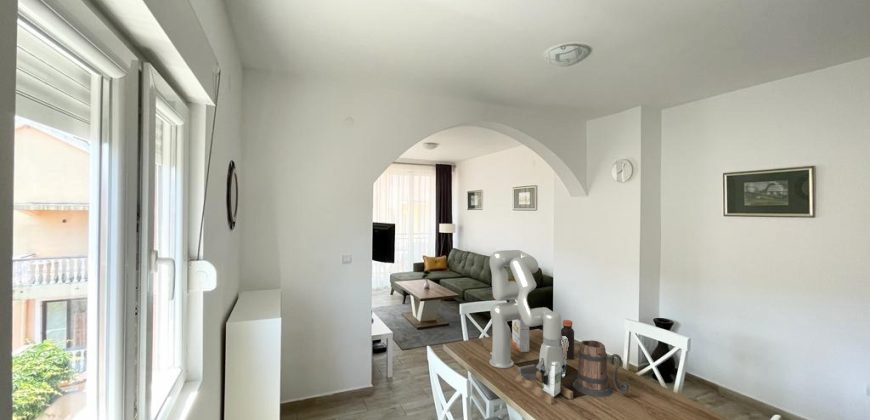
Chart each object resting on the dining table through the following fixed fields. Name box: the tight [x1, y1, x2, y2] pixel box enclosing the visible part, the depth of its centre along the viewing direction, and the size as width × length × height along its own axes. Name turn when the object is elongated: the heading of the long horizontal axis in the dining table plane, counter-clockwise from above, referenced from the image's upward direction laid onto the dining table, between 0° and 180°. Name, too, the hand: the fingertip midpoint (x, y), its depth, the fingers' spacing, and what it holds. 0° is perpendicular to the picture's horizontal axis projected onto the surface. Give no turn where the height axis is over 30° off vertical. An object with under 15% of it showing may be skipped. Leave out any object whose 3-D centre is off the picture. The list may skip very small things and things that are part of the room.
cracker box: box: [511, 318, 530, 353], centre depth 213 cm, size 14×6×21 cm, turn 6°
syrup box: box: [541, 362, 562, 398], centre depth 158 cm, size 6×6×14 cm
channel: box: [515, 363, 574, 406], centre depth 163 cm, size 24×12×6 cm, turn 24°
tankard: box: [572, 339, 630, 398], centre depth 163 cm, size 24×17×20 cm
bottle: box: [561, 319, 575, 361], centre depth 199 cm, size 7×7×20 cm
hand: (551, 381), depth 158 cm, fingers closed on syrup box, 7 cm apart
